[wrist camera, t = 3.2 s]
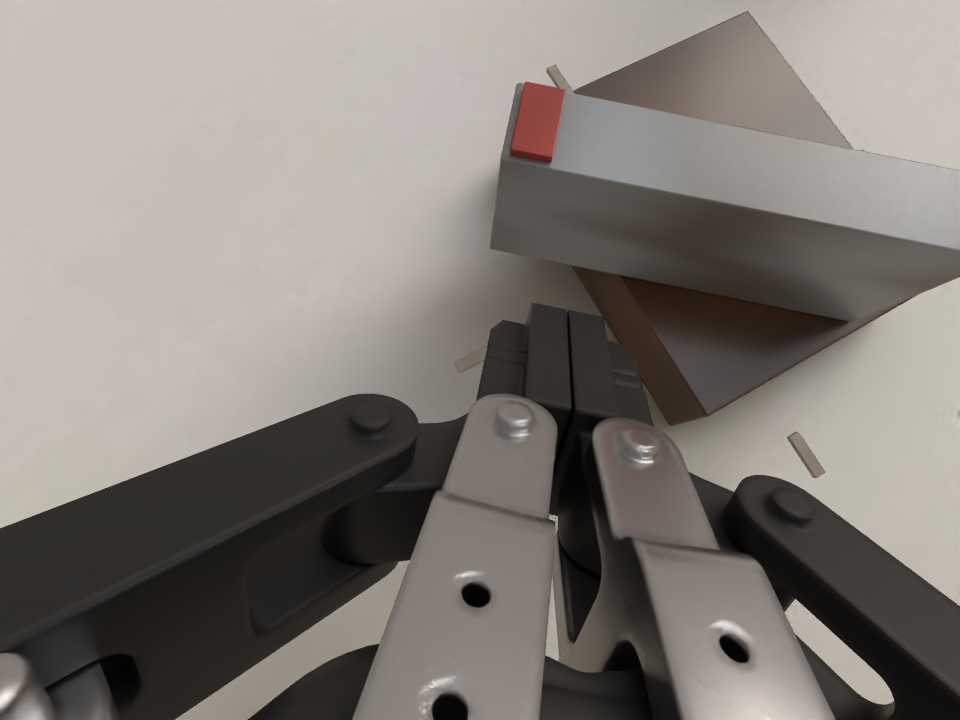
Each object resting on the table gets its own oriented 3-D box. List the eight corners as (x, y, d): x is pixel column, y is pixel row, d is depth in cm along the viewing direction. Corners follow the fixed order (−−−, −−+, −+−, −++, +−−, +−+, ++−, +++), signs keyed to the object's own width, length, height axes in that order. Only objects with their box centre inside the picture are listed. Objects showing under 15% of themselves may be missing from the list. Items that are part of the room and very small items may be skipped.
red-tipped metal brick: (854, 260, 18) (1010, 172, 13) (851, 322, 17) (1013, 255, 12) (501, 189, 18) (518, 74, 13) (489, 249, 18) (501, 153, 12)
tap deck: (935, 372, 20) (1019, 352, 17) (570, 593, 18) (592, 616, 15) (699, 49, 23) (735, -17, 20) (360, 206, 21) (343, 159, 18)
